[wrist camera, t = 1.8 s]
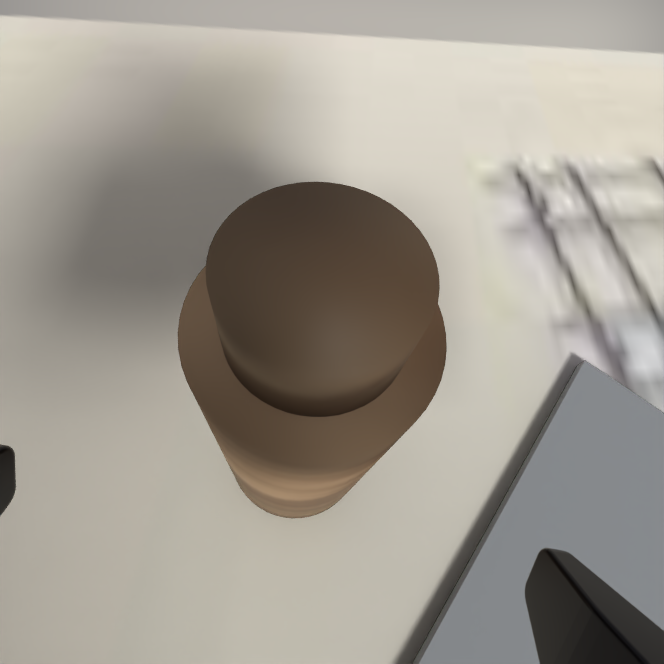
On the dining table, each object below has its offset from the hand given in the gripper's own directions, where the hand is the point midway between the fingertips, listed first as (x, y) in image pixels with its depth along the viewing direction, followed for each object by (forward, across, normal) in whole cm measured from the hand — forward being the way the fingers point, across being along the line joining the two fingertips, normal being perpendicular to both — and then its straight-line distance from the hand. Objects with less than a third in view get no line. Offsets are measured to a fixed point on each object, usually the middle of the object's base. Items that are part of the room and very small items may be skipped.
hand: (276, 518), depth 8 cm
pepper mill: (+10, 0, +5) cm, 11 cm away
